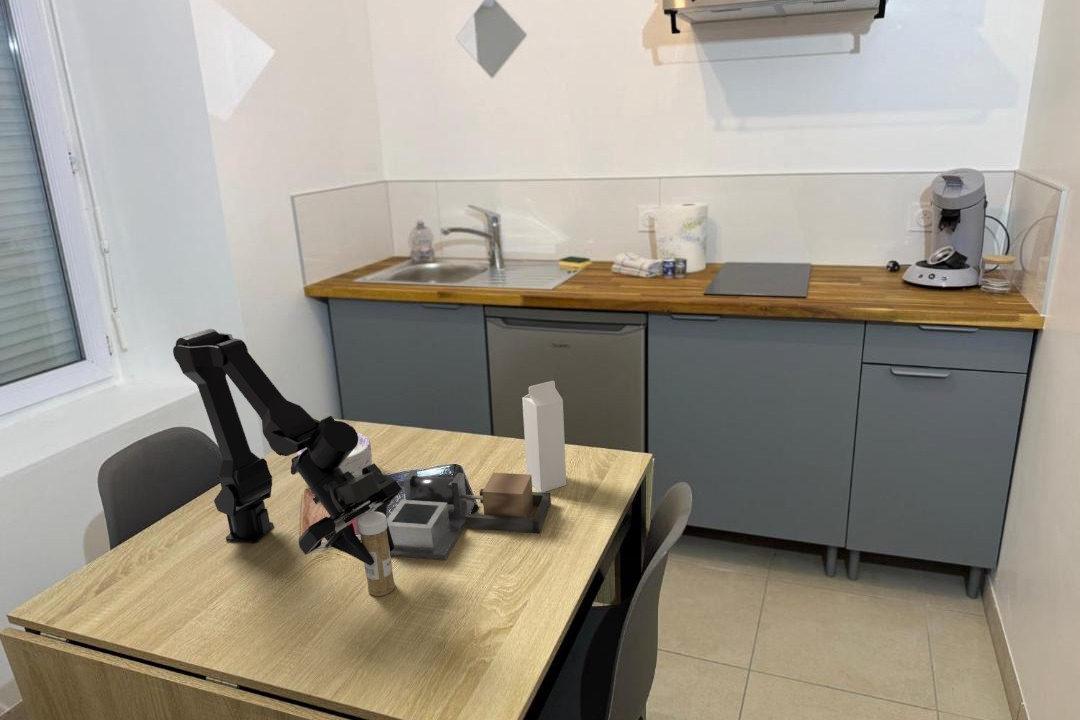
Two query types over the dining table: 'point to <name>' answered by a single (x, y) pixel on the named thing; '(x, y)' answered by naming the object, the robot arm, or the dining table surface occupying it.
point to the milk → (544, 436)
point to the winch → (429, 516)
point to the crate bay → (510, 505)
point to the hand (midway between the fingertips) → (382, 557)
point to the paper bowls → (356, 457)
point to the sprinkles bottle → (377, 553)
